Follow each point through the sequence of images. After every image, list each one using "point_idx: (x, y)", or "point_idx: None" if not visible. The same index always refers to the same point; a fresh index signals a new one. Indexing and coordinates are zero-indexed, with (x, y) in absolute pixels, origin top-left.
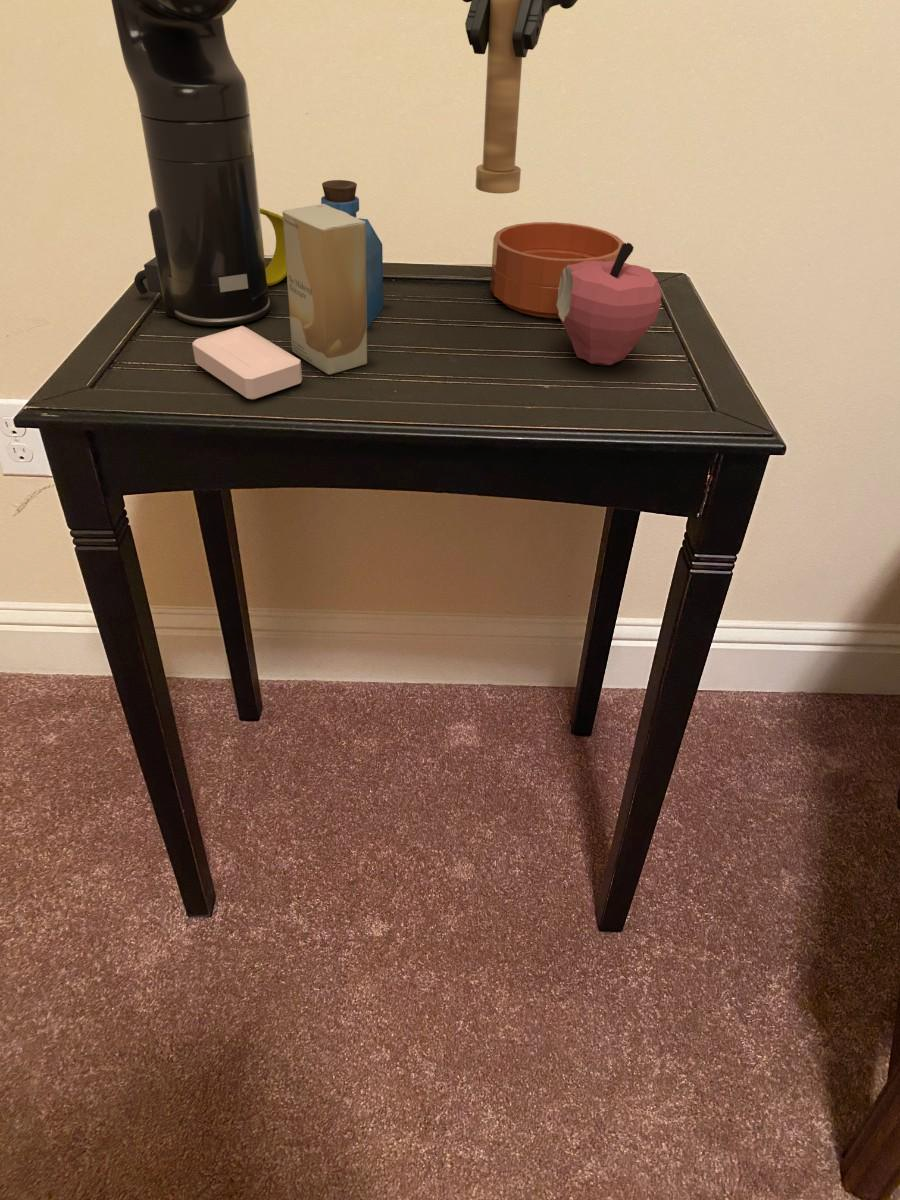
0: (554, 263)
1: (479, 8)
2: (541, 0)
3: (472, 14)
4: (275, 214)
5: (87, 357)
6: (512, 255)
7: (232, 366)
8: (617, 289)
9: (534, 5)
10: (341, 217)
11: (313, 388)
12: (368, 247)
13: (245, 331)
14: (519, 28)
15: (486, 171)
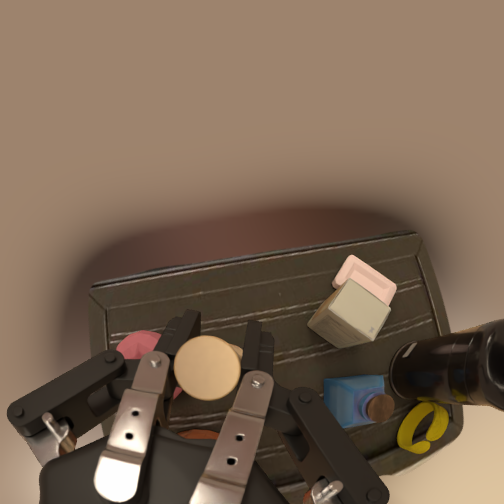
0: (194, 438)
1: (254, 341)
2: (155, 350)
3: (266, 349)
4: (422, 442)
5: (435, 285)
6: None
7: (364, 263)
8: (139, 333)
9: (166, 347)
10: (347, 307)
11: (324, 285)
12: (341, 401)
13: None
14: (189, 313)
15: (236, 347)
